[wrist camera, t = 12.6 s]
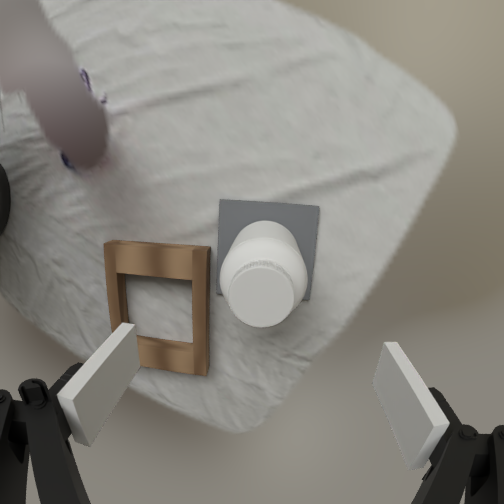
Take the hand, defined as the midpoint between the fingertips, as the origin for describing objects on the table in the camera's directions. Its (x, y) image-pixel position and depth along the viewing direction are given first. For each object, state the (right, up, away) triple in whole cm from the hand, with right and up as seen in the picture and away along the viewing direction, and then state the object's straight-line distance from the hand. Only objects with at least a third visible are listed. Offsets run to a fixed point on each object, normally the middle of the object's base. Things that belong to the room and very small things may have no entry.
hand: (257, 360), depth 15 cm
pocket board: (-13, -2, +26) cm, 30 cm away
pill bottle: (+1, +6, +23) cm, 24 cm away
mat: (+1, +6, +24) cm, 25 cm away
